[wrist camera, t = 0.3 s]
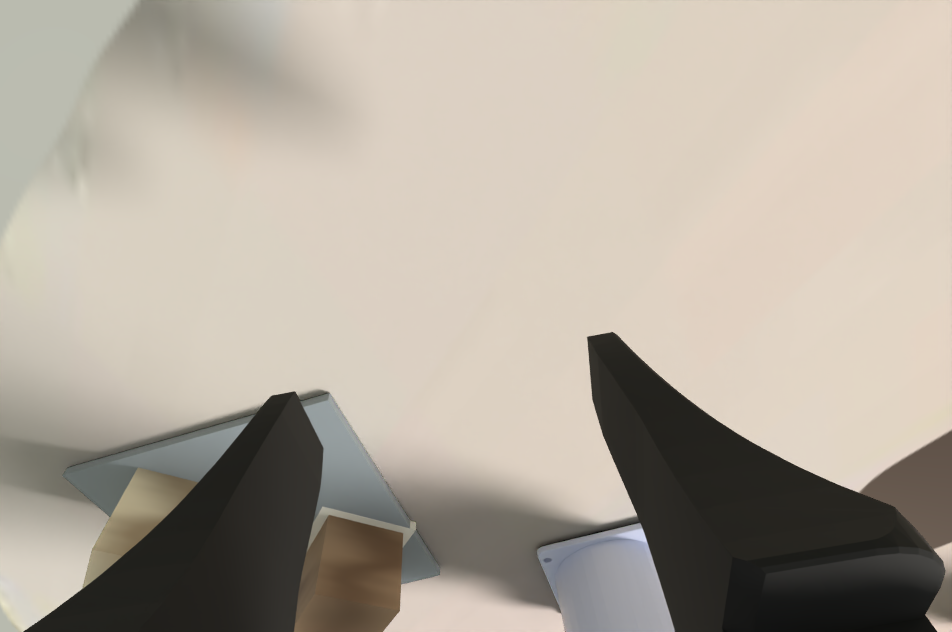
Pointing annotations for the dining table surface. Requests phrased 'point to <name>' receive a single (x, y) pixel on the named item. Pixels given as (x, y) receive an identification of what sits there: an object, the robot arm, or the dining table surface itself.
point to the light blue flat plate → (342, 484)
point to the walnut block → (350, 578)
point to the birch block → (136, 516)
